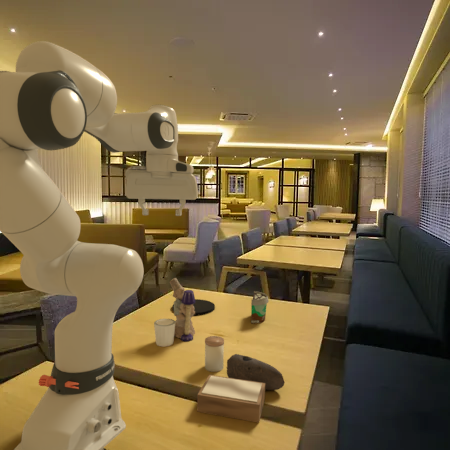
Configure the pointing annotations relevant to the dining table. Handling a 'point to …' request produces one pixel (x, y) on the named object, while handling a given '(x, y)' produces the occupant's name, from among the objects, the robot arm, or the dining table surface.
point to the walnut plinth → (232, 398)
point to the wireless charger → (202, 307)
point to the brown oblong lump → (254, 371)
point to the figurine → (180, 310)
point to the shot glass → (164, 332)
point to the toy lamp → (187, 313)
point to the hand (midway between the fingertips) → (162, 215)
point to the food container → (258, 307)
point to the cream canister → (214, 353)
